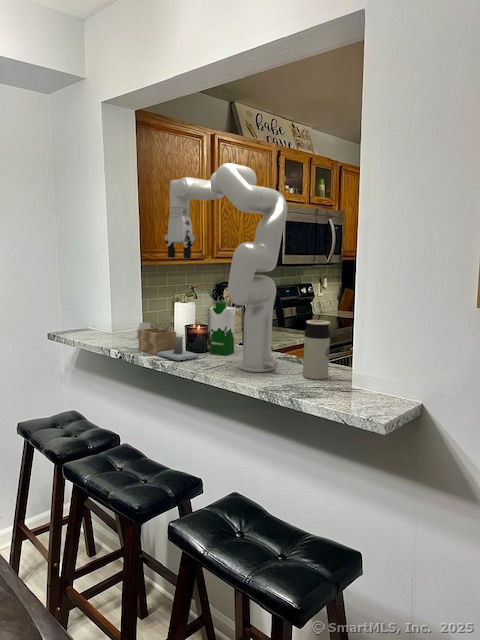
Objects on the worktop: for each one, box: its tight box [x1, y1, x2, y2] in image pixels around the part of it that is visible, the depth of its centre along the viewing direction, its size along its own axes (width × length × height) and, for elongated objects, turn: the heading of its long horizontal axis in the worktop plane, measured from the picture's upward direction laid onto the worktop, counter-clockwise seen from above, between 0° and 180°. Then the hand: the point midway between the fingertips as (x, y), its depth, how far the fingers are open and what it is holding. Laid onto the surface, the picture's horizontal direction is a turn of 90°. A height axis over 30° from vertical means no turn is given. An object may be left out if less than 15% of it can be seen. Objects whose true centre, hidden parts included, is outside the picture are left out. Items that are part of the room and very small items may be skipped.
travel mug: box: [302, 319, 331, 381], centre depth 151 cm, size 8×8×18 cm
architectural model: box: [135, 322, 151, 340], centre depth 212 cm, size 3×7×7 cm, turn 133°
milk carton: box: [209, 301, 237, 357], centre depth 183 cm, size 9×9×20 cm
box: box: [138, 327, 177, 356], centre depth 184 cm, size 12×9×8 cm
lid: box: [156, 336, 200, 362], centre depth 174 cm, size 13×10×8 cm
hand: (179, 257), depth 185 cm, fingers open, 9 cm apart
